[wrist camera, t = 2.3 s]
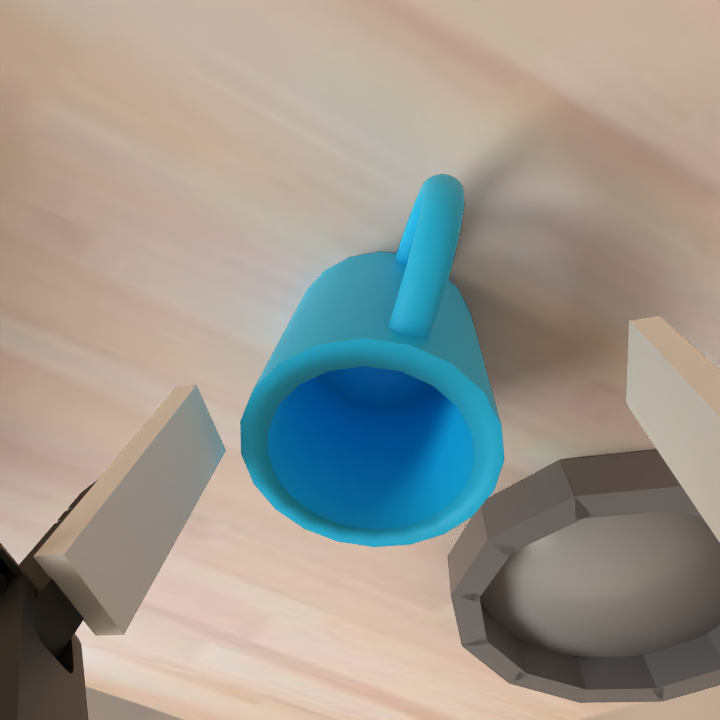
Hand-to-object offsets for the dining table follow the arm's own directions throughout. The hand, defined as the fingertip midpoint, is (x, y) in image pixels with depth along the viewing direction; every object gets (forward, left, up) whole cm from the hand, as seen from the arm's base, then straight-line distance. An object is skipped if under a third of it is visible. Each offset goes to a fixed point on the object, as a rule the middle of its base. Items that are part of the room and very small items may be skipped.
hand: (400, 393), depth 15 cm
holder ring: (+9, -19, -7) cm, 22 cm away
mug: (0, 0, -7) cm, 7 cm away
